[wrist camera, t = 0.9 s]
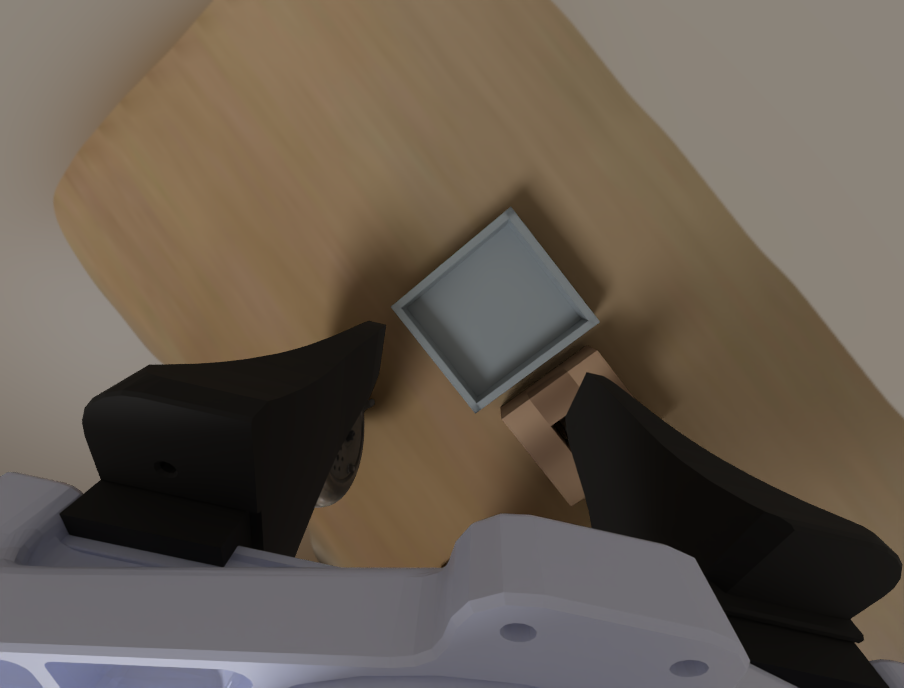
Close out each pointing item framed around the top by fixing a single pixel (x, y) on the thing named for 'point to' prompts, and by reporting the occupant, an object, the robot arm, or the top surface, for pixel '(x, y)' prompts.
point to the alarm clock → (345, 463)
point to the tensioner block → (554, 418)
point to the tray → (494, 311)
